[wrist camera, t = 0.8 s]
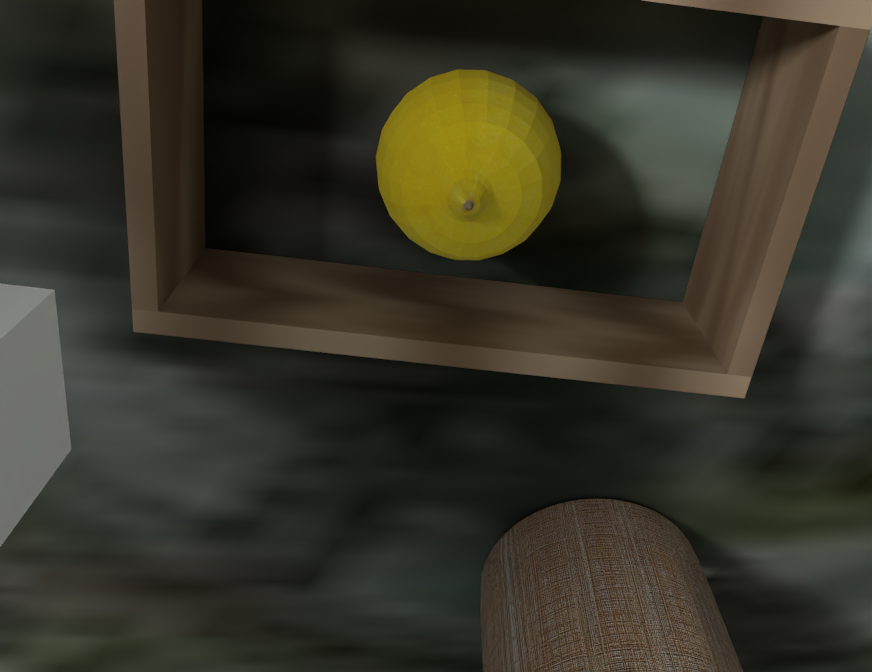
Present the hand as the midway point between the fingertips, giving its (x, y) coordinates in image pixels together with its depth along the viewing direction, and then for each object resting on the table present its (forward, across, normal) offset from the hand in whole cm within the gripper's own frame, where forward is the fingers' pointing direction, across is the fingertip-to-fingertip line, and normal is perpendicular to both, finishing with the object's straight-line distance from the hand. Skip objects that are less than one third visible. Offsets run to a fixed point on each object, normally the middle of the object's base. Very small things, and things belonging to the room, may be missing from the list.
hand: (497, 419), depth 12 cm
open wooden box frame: (+18, 0, 0) cm, 18 cm away
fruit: (+18, 0, 0) cm, 18 cm away
